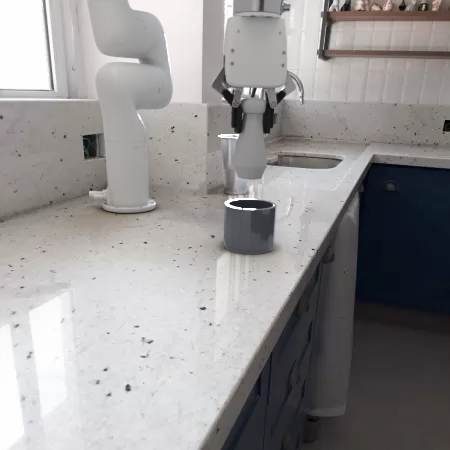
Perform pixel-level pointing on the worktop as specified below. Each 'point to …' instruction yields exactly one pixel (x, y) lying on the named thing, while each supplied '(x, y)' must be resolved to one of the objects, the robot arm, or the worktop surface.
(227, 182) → the glass
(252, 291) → the worktop surface
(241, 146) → the salt shaker
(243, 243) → the grey mortar cup
